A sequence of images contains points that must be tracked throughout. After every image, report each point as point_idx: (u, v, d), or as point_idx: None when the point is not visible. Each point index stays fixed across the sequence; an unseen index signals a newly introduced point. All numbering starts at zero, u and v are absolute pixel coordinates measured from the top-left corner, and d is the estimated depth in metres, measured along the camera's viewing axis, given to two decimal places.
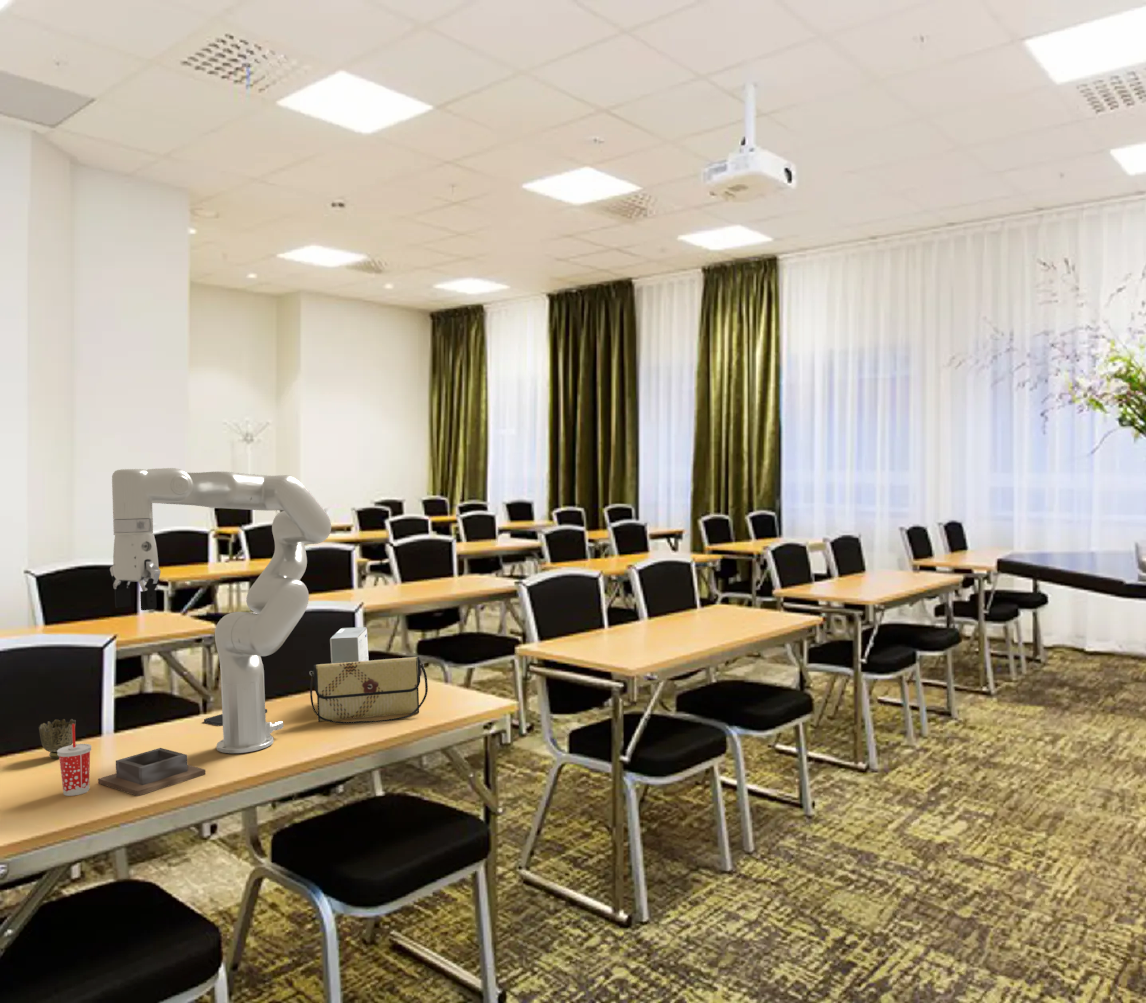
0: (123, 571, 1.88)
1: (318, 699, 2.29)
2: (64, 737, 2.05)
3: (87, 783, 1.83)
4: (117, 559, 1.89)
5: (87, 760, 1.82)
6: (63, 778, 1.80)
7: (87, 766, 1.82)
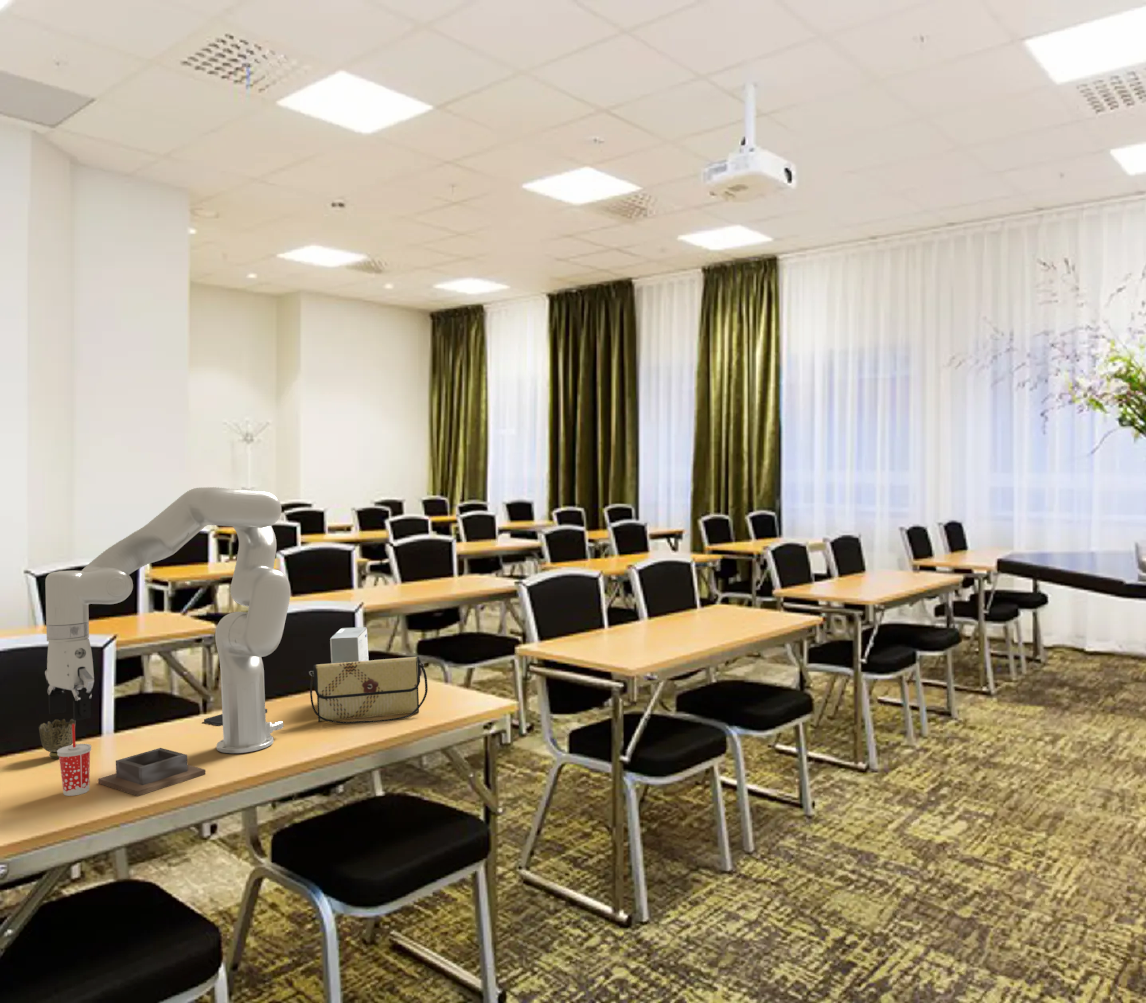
0: (56, 678, 1.80)
1: (318, 699, 2.29)
2: (64, 737, 2.05)
3: (87, 783, 1.83)
4: (50, 665, 1.81)
5: (87, 760, 1.82)
6: (63, 778, 1.80)
7: (87, 766, 1.82)
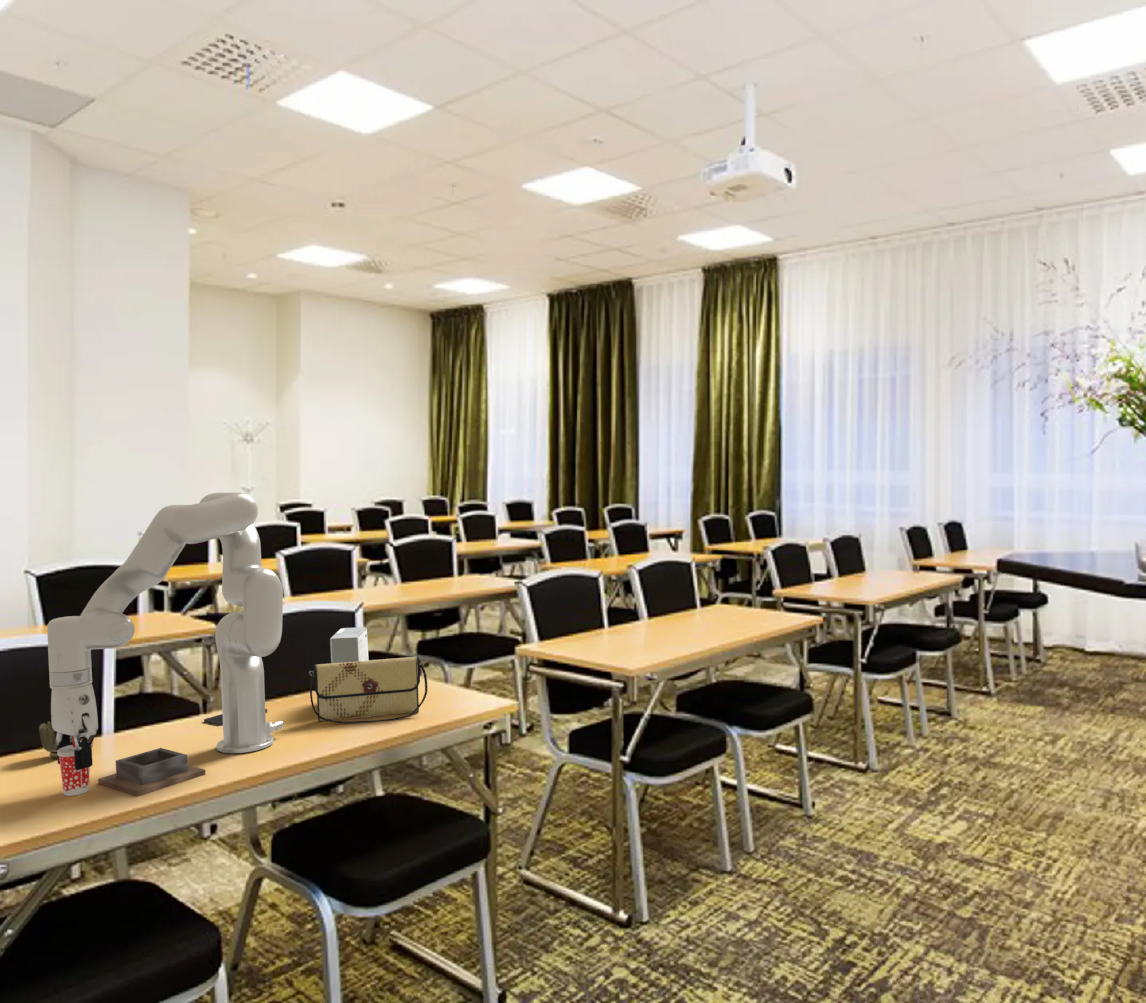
0: (60, 724, 1.81)
1: (318, 699, 2.29)
2: None
3: (87, 783, 1.83)
4: (54, 711, 1.82)
5: None
6: (63, 778, 1.80)
7: None
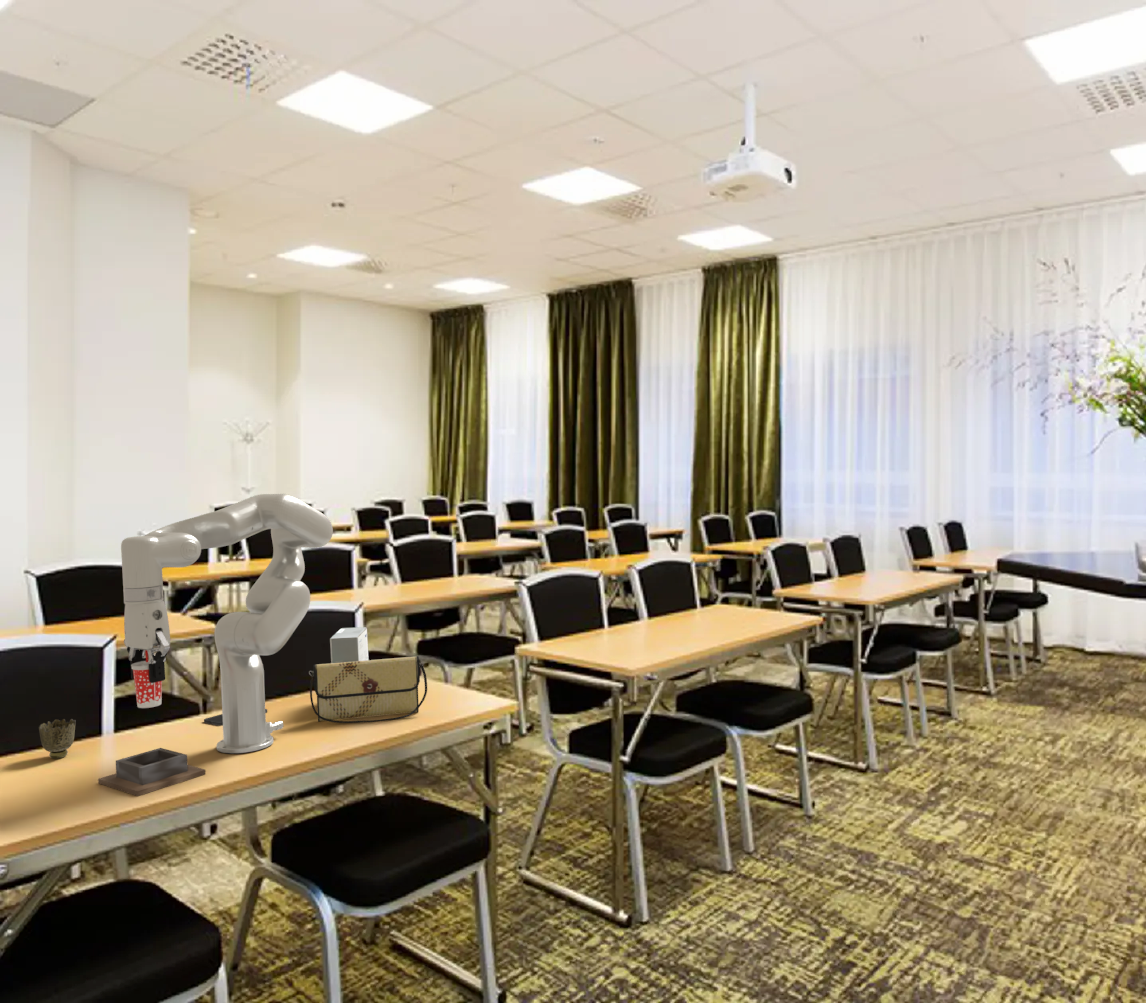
0: (134, 639, 1.87)
1: (318, 699, 2.29)
2: (64, 737, 2.05)
3: (160, 697, 1.89)
4: (128, 627, 1.88)
5: None
6: (137, 691, 1.87)
7: None
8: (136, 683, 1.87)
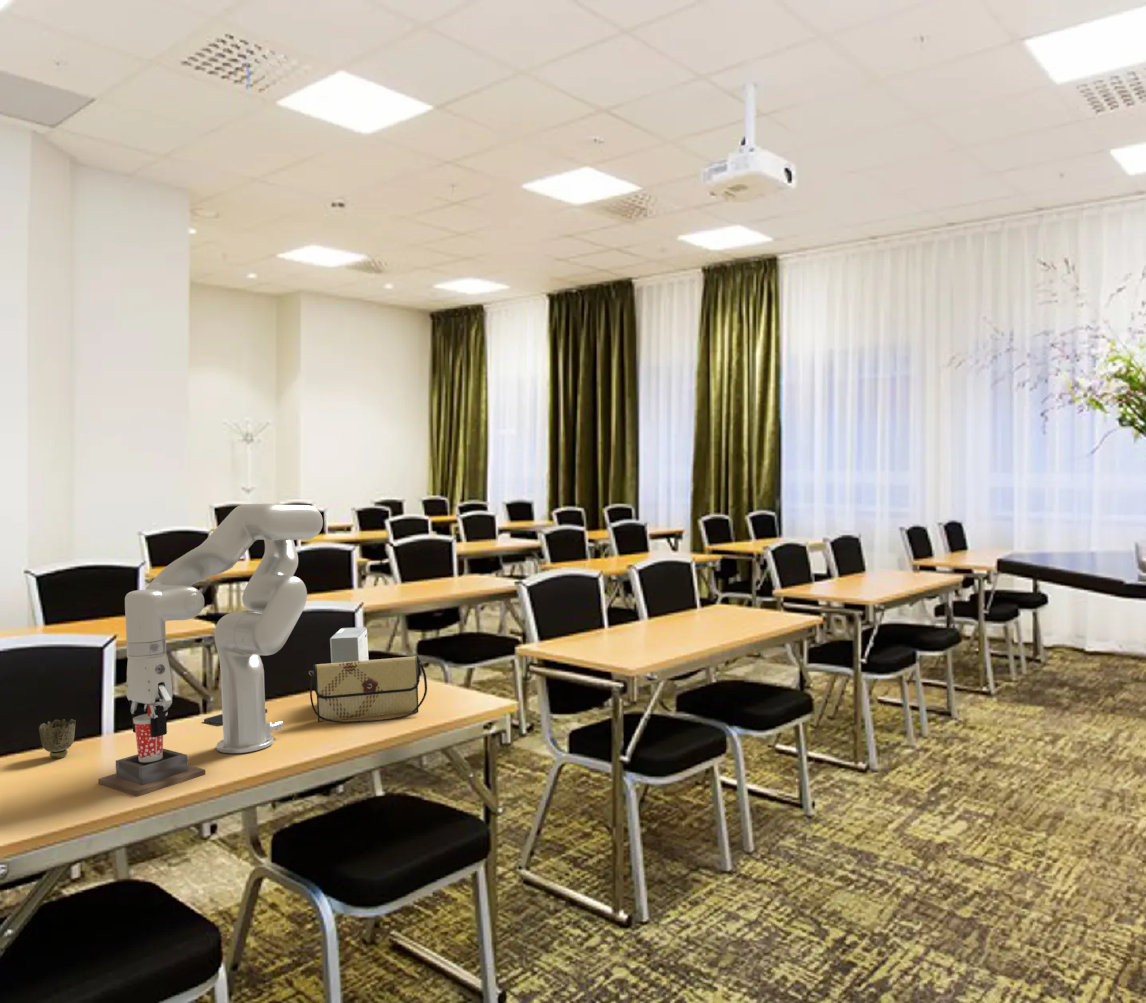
0: (136, 693, 1.87)
1: (318, 699, 2.29)
2: (64, 737, 2.05)
3: (161, 750, 1.89)
4: (130, 681, 1.88)
5: None
6: (139, 745, 1.87)
7: None
8: (138, 737, 1.87)
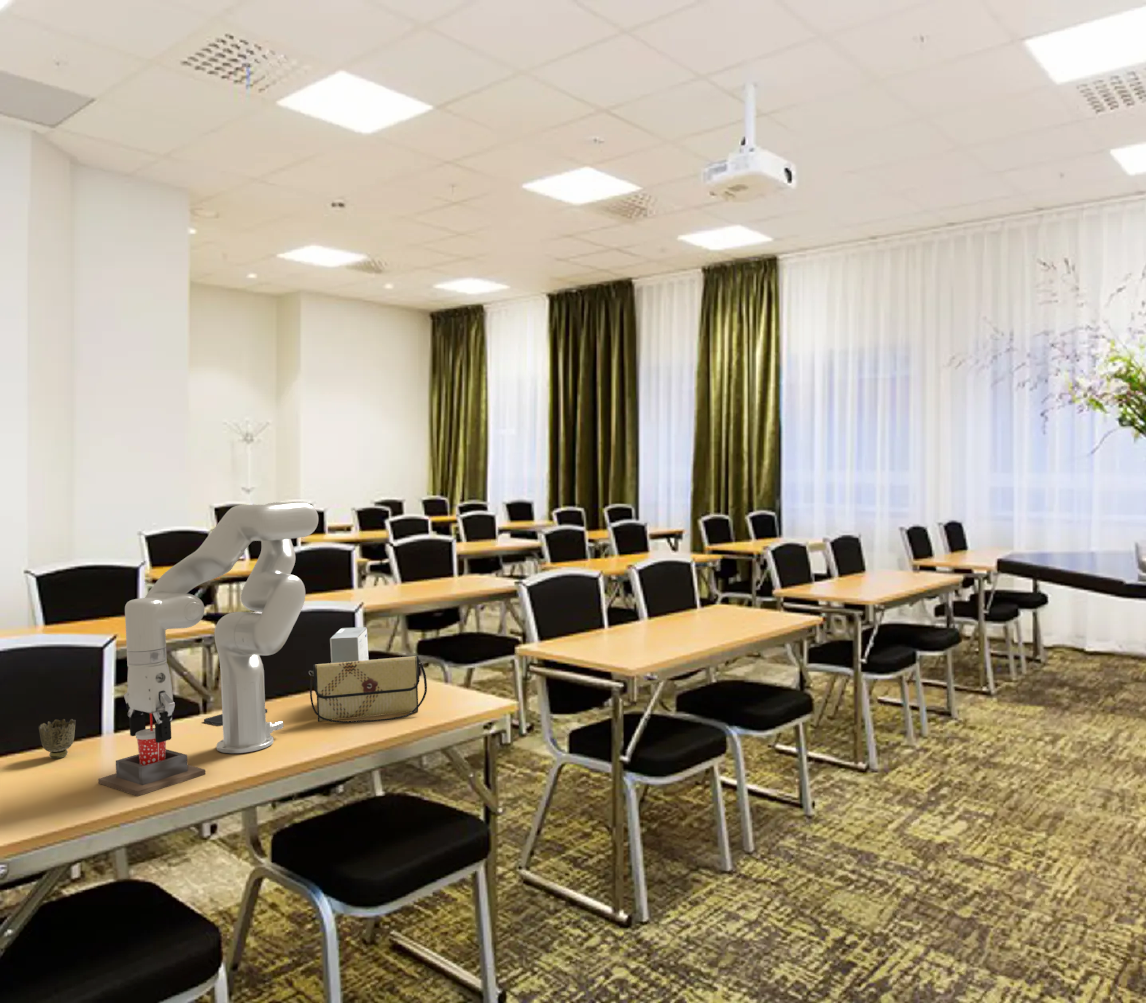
0: (137, 702, 1.87)
1: (318, 699, 2.29)
2: (64, 737, 2.05)
3: None
4: (131, 689, 1.88)
5: (164, 743, 1.89)
6: (141, 760, 1.87)
7: (163, 749, 1.89)
8: (140, 752, 1.87)
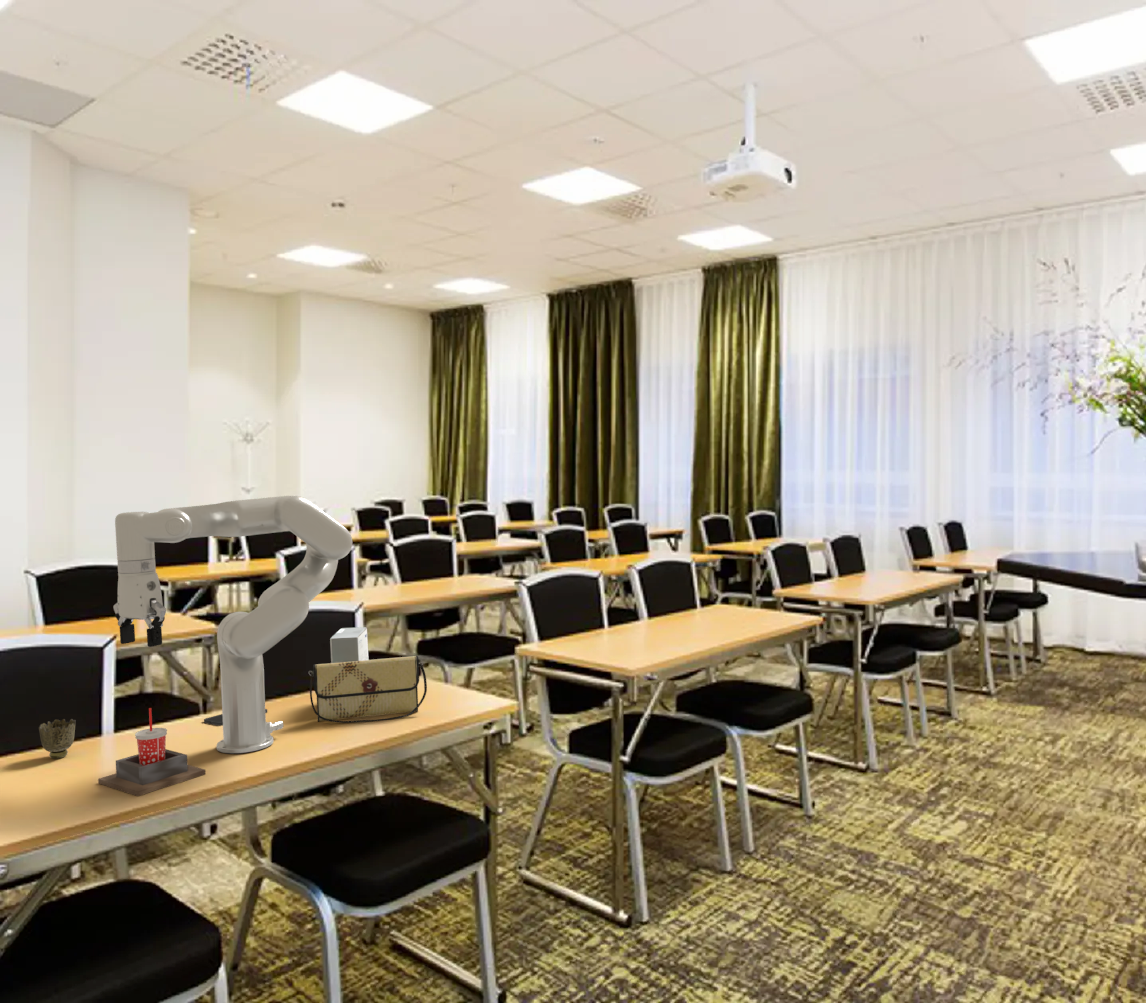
0: (128, 610, 1.97)
1: (317, 699, 2.29)
2: (64, 737, 2.05)
3: None
4: (122, 598, 1.98)
5: (163, 743, 1.89)
6: (141, 760, 1.87)
7: (163, 749, 1.89)
8: (140, 752, 1.87)
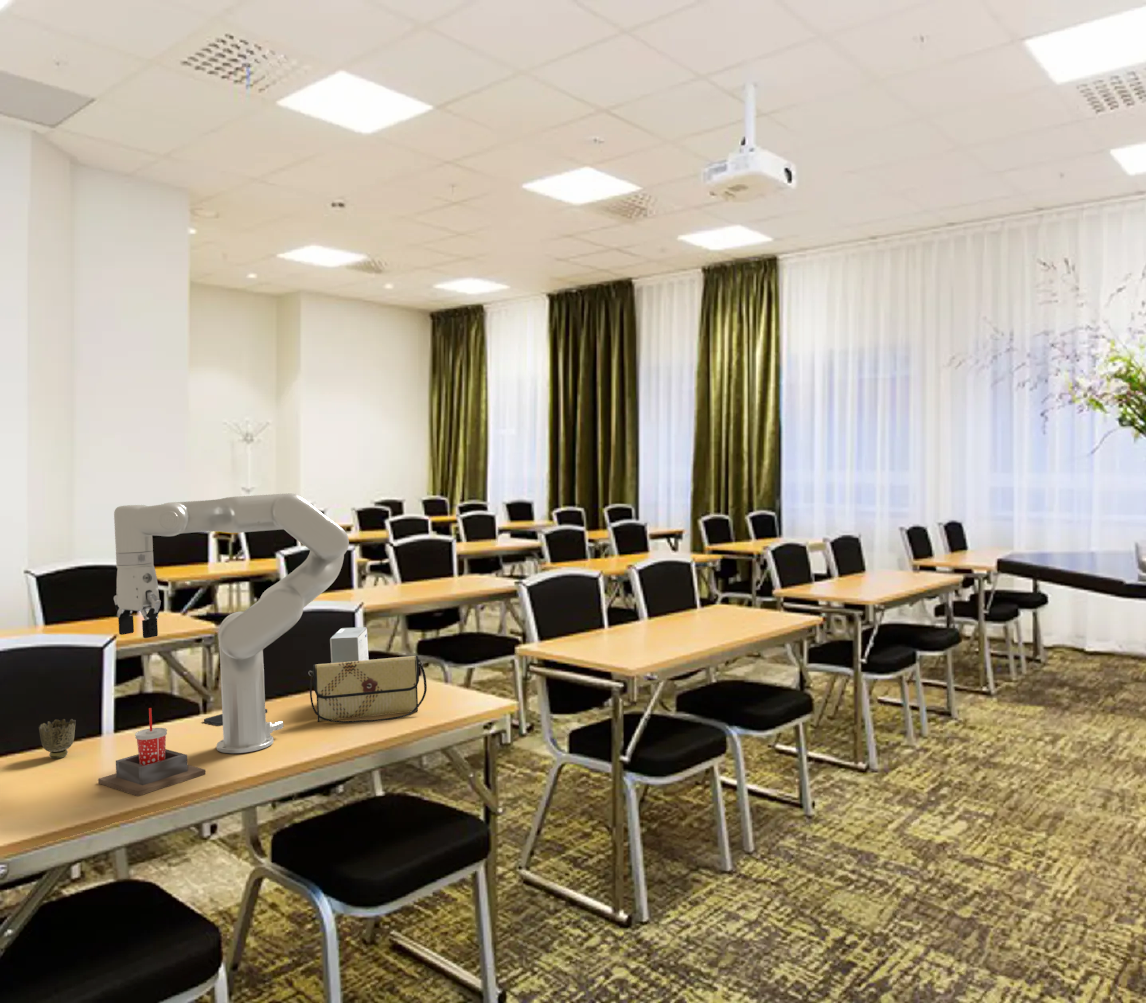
0: (125, 601, 2.00)
1: (317, 699, 2.29)
2: (64, 737, 2.05)
3: None
4: (120, 590, 2.01)
5: (163, 743, 1.89)
6: (141, 760, 1.87)
7: (163, 749, 1.89)
8: (140, 752, 1.87)
